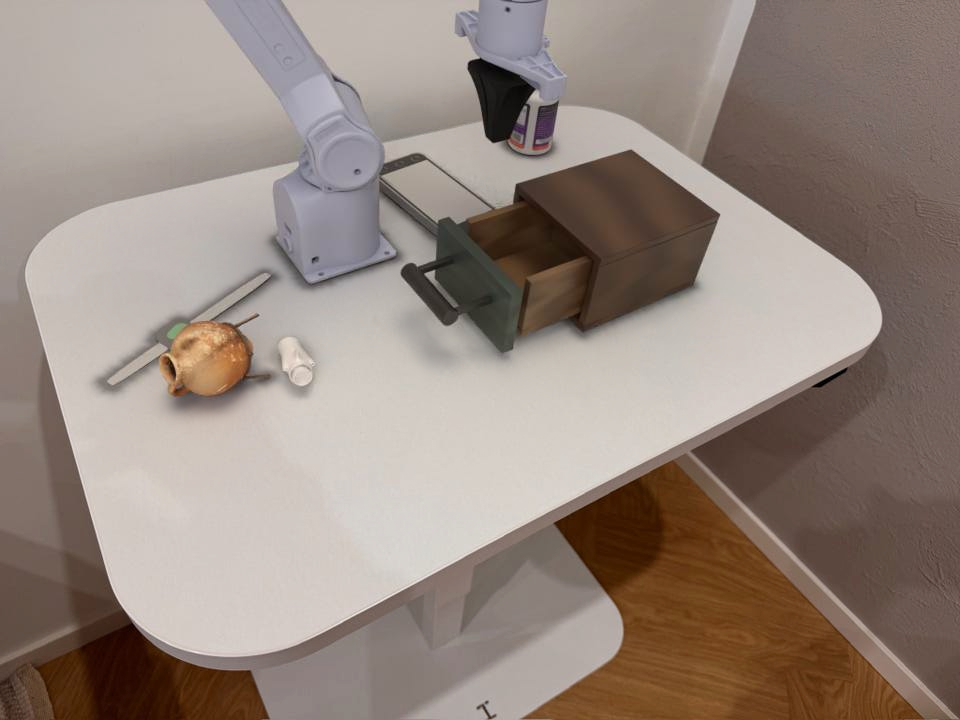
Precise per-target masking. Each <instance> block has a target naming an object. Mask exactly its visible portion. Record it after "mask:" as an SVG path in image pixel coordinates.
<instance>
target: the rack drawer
mask: <svg viewBox="0 0 960 720" xmlns="http://www.w3.org/2000/svg"><path fill="white" fill-rule="evenodd" d="M593 264H594V261H593V260H592V259H591V258H590V257H589V256H588V255H587V254H585V253H584V252H583V251H582V250H581V249H580V248H579V247H578V246H576V245H575V244H574V243H573V242H572V241H571V240H570V239H569V238H567V237H566V236H565V235H564V234H563V233H562V232H561V231H560V230H558V229H557V228H556V227H555V226H554V225H553V224H552V223H551V222H549V221H548V220H547V219H546V218H545V217H544V216H543V215H542V214H540V213H539V212H538V211H537V210H536V209H535V208H534V207H533V206H531V205H530V204H529V203H528V202H527V201H526V200H524V201H521V202H518V203H514V204H513V203H512V204H508V205H505V206H502V207H499V208H496V209H495V210H492V211H489V212H486V213H483V214H479V215H476V216H473V217H470V218H467V219H466V224H465V232H464V231H463V230H462V229H461V228H460V227H459V226H458V225H457V224H456V223H455V222H454V221H453V220H452V219H451V218H450V217H446V218H443V219H440V220H438V232H437V236H436V251H435V260H433V261H432V260H431V261H429V262H426V263H423V264H421V265H417V264H416V263H414V262H408V263H406V264H405V265H403V267H401V270H400V276H401V277H402V279H403V280H404V281H405V282H406V283H407V285H408V286H409V287H410V288H411V289H412V290H413V292H414V293H415V295H417V296H418V297H419V299H420V300H421V301H422V302H423V303H424V304H425V306H426V307H427V308H428V309H429V310H430V311H431V312H432V314H433V315H434V316H435V317H436V318H437V319H438V320H439V323H441V324H442V325H443V326H445V327H449V326H451V325H453V324H455V323H456V322H457V320H458V319H459V317H460V316H463V315H464V314H465V315H467V316H468V318H469V319H470V320H471V321H472V322H473V323H474V324H475V325H476V326H477V327H478V328H479V329H480V331H481V332H482V333H483V334H484V336H486V338H487V339H488V340H489V341H490V342H491V343H492V345H494V346H495V348H496V349H497V350H498V351H499V352H500V353H501V354H502V355H503V354H505V353H508V352H510V351H512V350H514V346H515V342H516V341H515V340H516V335H517V334H518V336H520V337H522V338H523V337H524V336H527V335H529V334H531V333H534V332H537V331H539V330H541V329H544V328H546V327H548V326H551V325H554V324H556V323H559V322H561V321H563V320H566V319H568V317H571V316H573V315H575V314H578V313H580V312H581V311H582V307H583V303H584V299H585V295H586V291H587V287H588V284H589V280H590V276H591V272H592V268H593ZM433 271H434V279H435V281H436V282H437V283H438V284H439V285H440V286H441V287H442V289H443V290H444V291H445V292H446V293H447V294H448V295H449V297H450V298H451V299H452V300H453V301H454V302H455V303H456V304H457V306H455V307H454V305H452V303H451V302H450V301H449V300H448V299H447V298H446V296H444V295H443V293H442V292H441V291H440V290H439V289H438V287H436V285H435V284H434V283H433V282H432V281H431V280H430V279H429V278H428V277H427V276H426V274H427V273H430V272H433Z"/></svg>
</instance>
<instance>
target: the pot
mask: <svg viewBox="0 0 960 720" xmlns="http://www.w3.org/2000/svg"><path fill="white" fill-rule="evenodd" d="M258 317H260V314H259V313H258V312H257V313H254V314H253V315H251V316H249V317H248V318H245V319H243V320H241V321H240V322H238V323H237V322H236V323H234V324H233V323H231V322H227V321H223V322H219V321H214V320H210V321H200V322H195V323H192V324H189V325H187V326H185V327H184V328H183V329H181V330H180V331H179V332H178V334H177V335H176V337H175V338H174V340H173V342H172V345H171V349H169V352H164V353H162V354H161V355H160V356H159V358H158V366H159V372H160V374H161V377H162V378H163V379H164V380H165V381H166V382H167V384H168V386H167V393H168V395H170V396H171V397H174V398H175V397H180V396H183V395H187V394H188V393H191V392H192V393H194V394H197V395H199V396H203V397H213V396H218V395H221V394H223V393H226V392H227V391H229V390H230V389H232V388H233V387H234V386H235V385H237V383H239V382H240V381H241V380H242V381H247V380H254V379H255V380H256V379H268V378H271V377H272V376H271V374H270V373H269V374H257V375H249V373H250V371H251V368H252V367H251V366H252V359H253V356H254V346H253V343H252V341H251V340H250V339H249V338H248V337H247V336H246V335H245V334H243V332H242V331H241V330H240V329H239V328H240V327H241V326H243V325H244V324H247V323H249V322H251V321H253V320H254V319H256V318H258ZM180 385H182V386H181V387H179V386H180ZM178 387H179V388H178Z"/></svg>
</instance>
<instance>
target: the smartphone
mask: <svg viewBox="0 0 960 720" xmlns="http://www.w3.org/2000/svg"><path fill="white" fill-rule="evenodd" d="M379 190H380V191H382V192H383V193H384V194H385V195H386V196H387V197H389V198H390V199H391V200H392V201H394V202H395V203H396V204H397V205H398V206H399V207H401V208H402V209H403V210H404V211H405V212H407V213H408V214H409V215H411V217H413V218H414V219H415V220H416V221H418V222H419V223H420V224H421V225H422V226H424V227H425V228H426V229H427V230H428V231H430V232H431V233H432V234H433V235H434V236H436V237H437V232H438V220H440V219H443V218H446V217H450V218H451V219H452V220H453V221H454V222H455V223H456V224H457V225H458V226H459V227H460V228H461V229H462V230H463V231H464V232H465V224H466V219H467V218H470V217H473V216H476V215H479V214H483V213H486V212H489V211H492V210H495V209H497V208H496V207H495V206H494V205H492V204H491V203H489V202H488V201H487V200H485V199H484V198H483V197H481V195H479V194H478V193H477V192H475V191H474V190H472V189H471V188H469V187H468V186H467V185H466V184H465V183H463V182H462V181H461V180H459V179H458V178H456V177H455V176H454V175H453V174H451V173H450V172H449V171H447V169H445V168H443V167H442V166H441V165H439V164H438V163H437V162H435V160H433V159H431V158H430V157H428V156H427V155H426V154H424V153H423V152H420V151H415V152H412V153H409V154H405V155H403V156H400V157H397V158H394V159H392V160H391V159H390V160H388V161H386V162H385V161H384V164H383V167H382V169H381V171H380V173H379Z"/></svg>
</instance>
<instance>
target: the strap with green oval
mask: <svg viewBox="0 0 960 720" xmlns="http://www.w3.org/2000/svg"><path fill="white" fill-rule="evenodd" d="M271 276H272V275H271V274H269V273H268V272H263V273H261V274H259V275H257V276H256V277H254V278H253V279H251V280H250V281H247V282H246V283H245V284H244V285H242V286H240V287H239V288H237V289H236V290H234V291H233V292H231V293H229V294H228V295H227V296H226V297H224V298H222V299H221V300H220V301H218V302H217V303H215V304H214V305H212V306H210V307H209V308H208V309H207V310H205V311H204V312H202V313H200V314H199V315H197V316H196V317H195V318H193V319H192V320H191V321H188V320H187V319H185V318H176V319H173V320H172V321H170V322H169V323H167V324H166V325H164V326H162V327H161V328H160V329H158V330H157V331H156V332H155V333H154V339H155V341H156V342H158V343H156V344H155V345H154V346H152V347H150V348H149V349H148V350H146V351H145V352H143V353H142V354H141V355H139V356H138V357H136V358H135V359H134V360H132V361H131V362H130V363H128V364H126V365H125V366H124V367H122V368H121V369H120V370H118V371H117V372H116V373H114V374H113V375H111V377H109V379H107V380H106V382H107V383H108V384H109V385H110V386H114V385H116V384H118V383H120V382H122V381H123V380H125V379H126V378H128V377H130V376H131V375H133V374H134V373H136V372H138V371H139V370H141V369H142V368H143V367H145V366H147V365H148V364H149V363H151V362H152V361H154V360H156V359H157V358H158V357H160V356H161V355H162V354H164V353H166V352H167V351H168V350H170V349H171V345H172V342H173V340H174V338H175V337H176V335H177V334H178V332H179V331H180V330H181V329H183V328H184V327H185V326H187V325H189V324H192V323H195V322H200V321H212V320H213V319H215V317H217V316H219V315H220V314H222V313H223V312H224V311H226V310H227V309H229V308H230V307H232V306H233V305H234V304H236V303H238V302H239V301H240V300H241V299H243V298H245V297H246V296H247V295H249V294H250V293H252V292H253V291H254V290H256V289H257V288H258V287H259V286H261V285H263V283H265V282H266V281H267V280H268V279H269V278H270V277H271Z"/></svg>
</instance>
